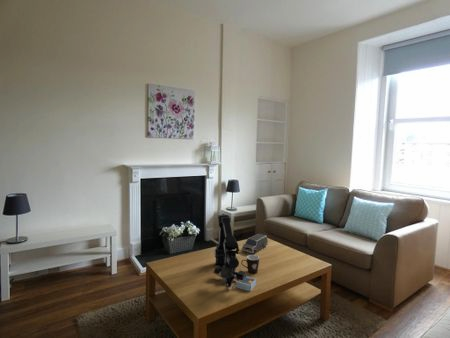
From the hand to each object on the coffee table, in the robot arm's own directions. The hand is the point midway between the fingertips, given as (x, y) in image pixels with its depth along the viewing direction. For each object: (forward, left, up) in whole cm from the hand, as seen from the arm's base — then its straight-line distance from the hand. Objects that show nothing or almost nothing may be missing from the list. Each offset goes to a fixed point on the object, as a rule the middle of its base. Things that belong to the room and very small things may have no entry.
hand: (229, 286), depth 162 cm
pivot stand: (-6, +8, -2) cm, 10 cm away
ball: (+10, +8, 0) cm, 13 cm away
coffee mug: (+2, +27, -2) cm, 27 cm away
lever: (-7, +4, 0) cm, 8 cm away
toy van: (-9, +66, -2) cm, 67 cm away
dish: (+7, +8, -2) cm, 11 cm away
